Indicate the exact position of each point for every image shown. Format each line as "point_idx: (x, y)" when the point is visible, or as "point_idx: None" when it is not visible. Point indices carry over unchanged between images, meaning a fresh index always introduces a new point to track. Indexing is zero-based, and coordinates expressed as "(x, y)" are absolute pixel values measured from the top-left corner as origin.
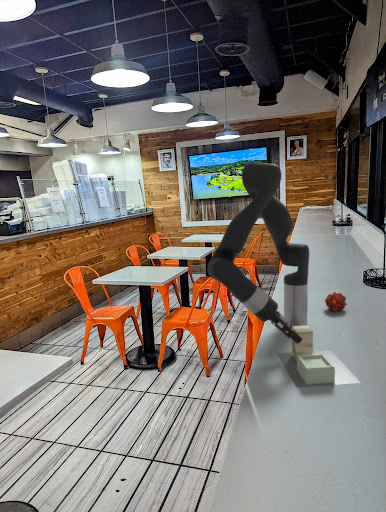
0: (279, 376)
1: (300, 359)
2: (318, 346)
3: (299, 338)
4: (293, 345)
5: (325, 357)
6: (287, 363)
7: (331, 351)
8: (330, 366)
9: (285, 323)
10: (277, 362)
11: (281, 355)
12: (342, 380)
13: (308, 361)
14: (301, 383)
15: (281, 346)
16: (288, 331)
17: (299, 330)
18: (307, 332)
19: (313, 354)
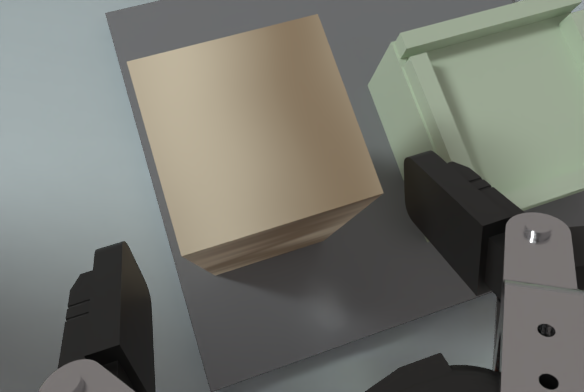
0: (488, 353)
1: (539, 201)
2: (11, 87)
3: (477, 174)
4: (249, 256)
5: (457, 24)
6: (356, 305)
7: (125, 9)
8: (553, 13)
9: (130, 353)
10: (307, 378)
11: (239, 354)
12: (478, 4)
13: (503, 148)
14: (576, 217)
15: (30, 362)
16: (149, 304)
17: (314, 161)
18: (339, 76)
19: (431, 101)
